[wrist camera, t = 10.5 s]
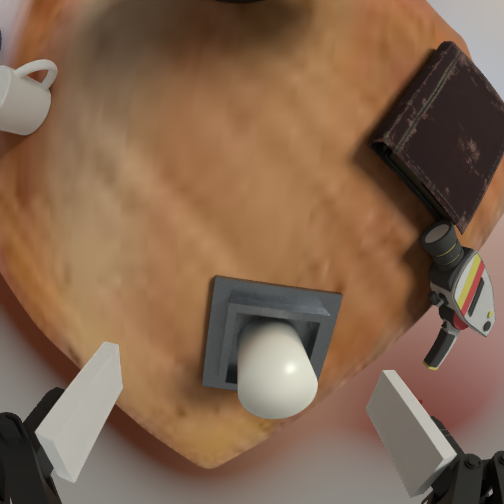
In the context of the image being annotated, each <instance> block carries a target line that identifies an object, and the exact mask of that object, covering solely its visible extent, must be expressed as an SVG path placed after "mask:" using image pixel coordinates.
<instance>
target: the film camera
mask: <svg viewBox="0 0 504 504" xmlns="http://www.w3.org/2000/svg"><path fill="white" fill-rule="evenodd" d="M420 244H421V245H422V246H423V247H424V248H425V249H426V250H427V251H428V253H429V254H430V255H431V256H432V258H433V260H434V261H435V263H434V265H433V266H432V268H431V270H430V273H429V276H430V279H431V281H430V288H431V290H432V292H430V293H429V295H428V297H429V299H430V301H431V302H432V304H433V305H436V306H437V307H439V315H440V317H441V318H442V319H443V324H442V325H441V326H442V328H441V330H440V332H439V335H438V337H437V339H436V341H435V343H434V345H433V346H432V348H431V349H430V351H429V353H428V354H427V356H426V357H425V359H424V361H423V364H424V365H425V366H426V367H427V368H429V369H434V370H437V369H438V367H439V366H440V364H441V363H442V362H443V360H444V359H445V357H446V356H447V354H448V353H449V351H450V350H451V348H452V346H453V344H454V343H455V341H456V338H457V337H458V334H459V332H460V330H464V329H465V328H467V327H470V328H471V329H473V330H475V331H476V332H478V333H479V334H481V335H483V336H484V337H486V336H487V335H488V333H489V331H490V330H491V328H492V326H493V324H494V322H495V307H494V296H493V288H492V284H491V280H490V277H489V274H488V271H487V269H486V266H485V264H484V262H483V260H482V258H481V256H480V255H479V253H478V251H475V250H473V249H471V248H467V247H463V246H461V245H460V243H459V241H458V239H457V236H456V232H455V229H454V225H453V222H452V221H451V220H448V219H444V220H440V221H438V222H436V223H434V224H432V225H431V226H430V227H429V228H427V229H426V230H425V231H424V233H423V234H422V236H421V238H420Z"/></svg>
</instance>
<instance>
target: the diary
mask: <svg viewBox="0 0 504 504" xmlns="http://www.w3.org/2000/svg"><path fill="white" fill-rule="evenodd" d="M368 146H369V148H370V149H372V150H373V151H374V152H375V153H376V154H377V155H378V156H379V157H380V158H381V159H382V160H383V161H384V162H385V163H386V164H387V165H388V166H389V167H390V168H391V169H392V170H393V171H394V172H395V173H396V174H397V176H398V177H399V178H400V179H401V180H402V181H403V182H404V183H405V184H406V185H407V186H408V187H409V189H410V190H411V191H412V192H413V193H414V194H415V195H416V196H417V198H418V199H419V200H420V201H421V202H422V203H423V204H424V206H425V207H426V208H427V209H428V210H429V211H430V213H431V214H432V215H433V216H434V217H435V218H436V220H437V221H440V220H444V219H448V220H451V221H452V222H453V225H456V226H457V228H458V229H459V231H460V233H461V235H462V234H463V233H464V231H465V229H466V228H467V226H468V224H469V222H470V221H471V219H472V217H473V215H474V213H475V212H476V210H477V208H478V206H479V204H480V202H481V200H482V198H483V196H484V194H485V192H486V190H487V188H488V186H489V184H490V182H491V180H492V178H493V175H494V173H495V171H496V169H497V167H498V165H499V163H500V161H501V159H502V157H503V155H504V102H503V101H502V99H501V98H500V96H499V95H498V93H497V92H496V90H495V89H494V88H493V87H492V85H491V84H490V82H489V81H488V80H487V78H486V77H485V76H484V75H483V74H482V73H481V71H480V70H479V69H478V68H477V67H476V66H475V64H474V63H473V62H472V61H471V60H470V59H469V58H468V57H467V56H466V55H465V54H464V53H463V52H462V51H461V49H460V48H459V47H458V46H457V45H456V44H455V43H454V42H452V41H444V42H443V43H442V44H440V46H439V47H438V49H437V50H436V52H435V53H434V54H433V56H432V57H431V59H430V60H429V62H428V63H427V65H426V66H425V67H424V68H423V70H422V71H421V72H420V74H419V75H418V76H417V77H416V79H415V80H414V81H413V83H412V84H411V85H410V87H409V88H408V90H407V91H406V92H405V94H404V95H403V97H402V98H401V100H400V101H399V102H398V104H397V105H396V107H395V108H394V109H393V111H392V112H391V113H390V114H389V116H388V117H387V118H386V119H385V121H384V122H383V123H382V124H381V125H380V127H379V128H378V129H377V130H376V132H375V133H374V134H373V135H372V137H371V139H370V141H369V143H368Z"/></svg>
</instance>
